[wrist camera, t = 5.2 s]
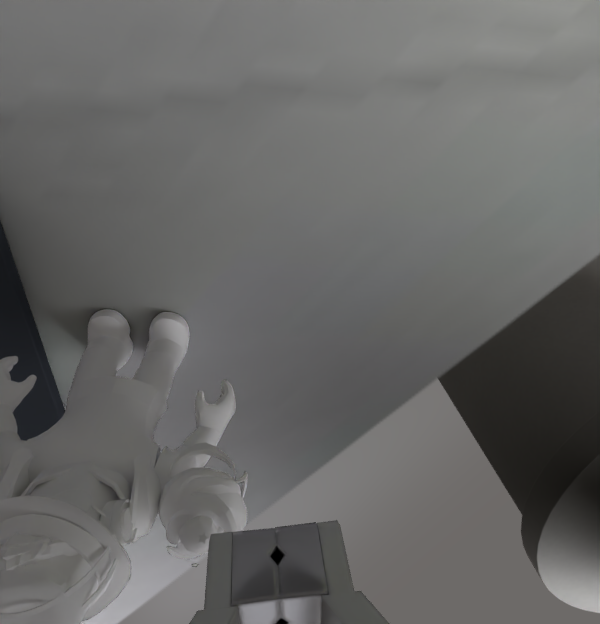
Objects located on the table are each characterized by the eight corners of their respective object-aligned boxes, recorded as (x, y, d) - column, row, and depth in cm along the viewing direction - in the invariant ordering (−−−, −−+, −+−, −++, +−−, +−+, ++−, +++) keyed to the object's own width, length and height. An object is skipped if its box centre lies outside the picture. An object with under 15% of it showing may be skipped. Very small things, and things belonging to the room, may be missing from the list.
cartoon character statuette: (31, 368, 19) (-236, 740, 8) (20, 285, 17) (-337, 626, 7) (243, 383, 20) (240, 713, 10) (254, 308, 19) (262, 616, 8)
